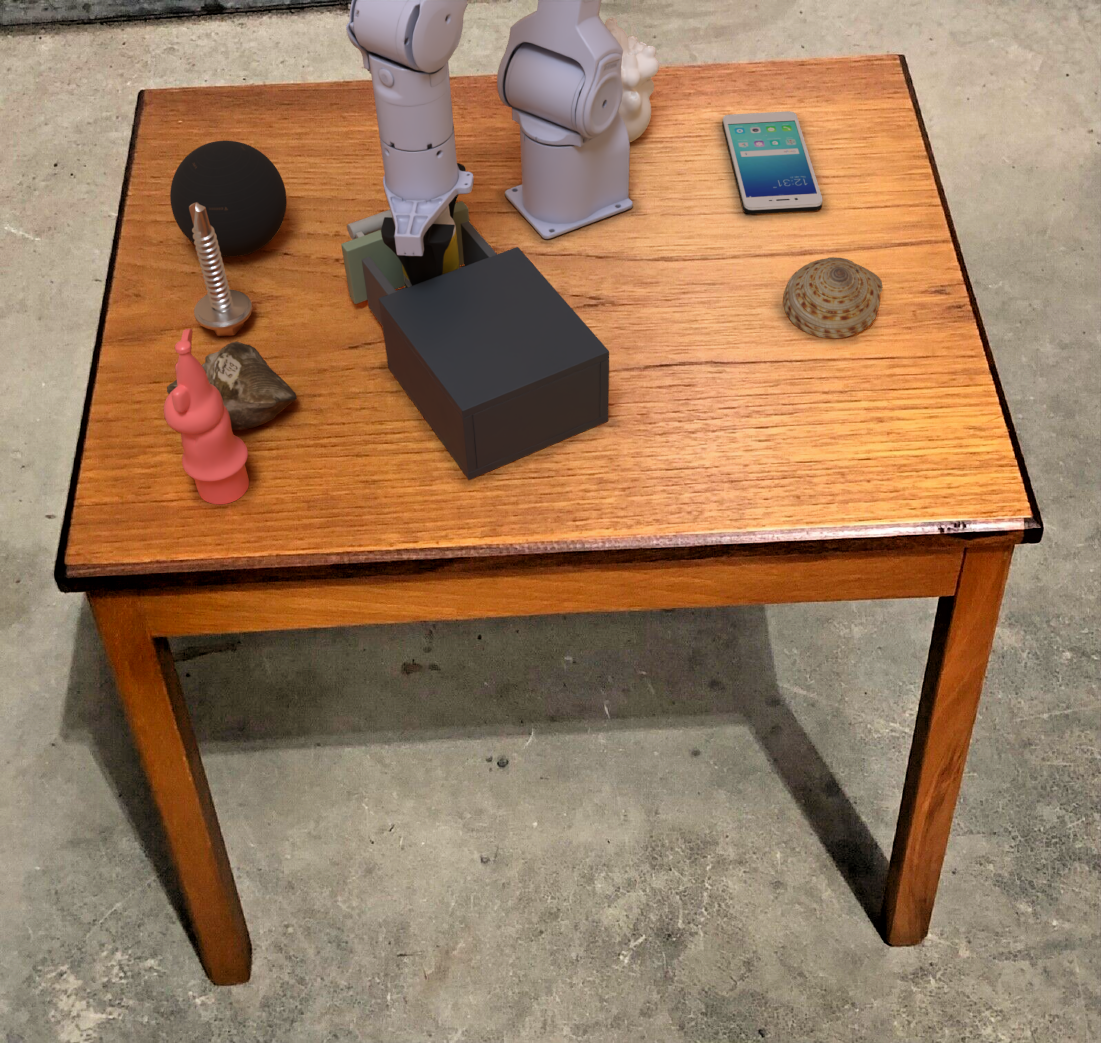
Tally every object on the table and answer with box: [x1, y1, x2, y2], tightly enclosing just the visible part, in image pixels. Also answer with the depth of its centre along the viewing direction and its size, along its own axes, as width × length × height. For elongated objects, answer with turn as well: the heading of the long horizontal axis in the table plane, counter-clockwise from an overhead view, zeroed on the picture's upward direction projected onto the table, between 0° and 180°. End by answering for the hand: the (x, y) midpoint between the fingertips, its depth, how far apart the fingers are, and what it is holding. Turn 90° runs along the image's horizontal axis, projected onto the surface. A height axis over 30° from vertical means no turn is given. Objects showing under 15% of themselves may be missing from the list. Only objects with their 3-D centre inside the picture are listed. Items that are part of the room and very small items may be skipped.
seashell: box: [782, 256, 883, 339], centre depth 122 cm, size 8×6×8 cm
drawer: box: [340, 200, 498, 326], centre depth 121 cm, size 18×11×6 cm, turn 29°
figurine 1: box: [163, 328, 250, 505], centre depth 105 cm, size 5×5×15 cm
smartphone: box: [721, 110, 823, 215], centre depth 136 cm, size 8×1×15 cm
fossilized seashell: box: [166, 341, 298, 431], centre depth 115 cm, size 8×7×10 cm
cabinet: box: [379, 246, 610, 481], centre depth 114 cm, size 15×13×8 cm
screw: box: [189, 202, 253, 337], centre depth 118 cm, size 13×5×5 cm
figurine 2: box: [604, 17, 660, 143], centre depth 135 cm, size 7×7×12 cm
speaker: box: [169, 140, 287, 258], centre depth 126 cm, size 10×10×10 cm
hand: (431, 268), depth 119 cm, fingers closed on supplement bottle, 5 cm apart
